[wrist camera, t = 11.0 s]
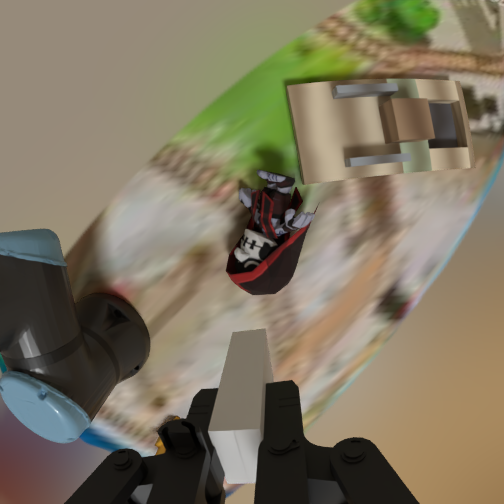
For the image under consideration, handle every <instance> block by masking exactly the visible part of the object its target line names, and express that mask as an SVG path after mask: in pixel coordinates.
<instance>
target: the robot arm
mask: <svg viewBox="0 0 504 504" xmlns="http://www.w3.org/2000/svg"><path fill="white" fill-rule="evenodd" d="M66 267H67V264H66V262H65V261H64V258H63V254H62V250H61V246H60V241H59V238H58V237H57V235H56V234H55V233H54V232H53V231H51V230H49V229H33V230H22V231H12V232H4V233H0V352H1V355H2V357H3V360H4V362H5V365H6V367H7V371H6V372H4V373H3V374H2V378H1V379H0V393H1V395H2V398H3V400H4V402H5V403H6V405H7V406H8V408H9V409H10V411H11V412H12V413H13V414H14V415H15V416H16V417H17V418H18V419H19V420H20V421H21V422H22V423H23V424H24V425H25V426H26V427H28V428H29V429H30V430H32V431H33V432H35V433H36V434H38V435H40V436H42V437H43V438H46V439H48V440H51V441H54V442H59V443H69V442H72V441H74V440H76V439H77V438H78V437H79V436H80V435H81V434H82V432H83V431H84V430H85V429H86V428H88V427H89V426H90V424H91V422H92V420H93V419H94V417H95V416H96V414H97V413H98V411H99V410H100V408H101V407H102V405H103V404H104V402H105V401H106V399H107V398H108V396H109V395H110V393H111V392H112V390H113V389H114V387H115V386H116V384H118V383H120V382H122V381H124V380H126V379H128V378H130V377H132V376H134V375H135V374H136V373H138V372H139V371H140V369H141V368H142V367H143V365H144V364H145V362H146V360H147V359H148V356H149V352H150V338H149V334H148V331H147V328H146V326H145V324H144V322H143V320H142V319H141V317H140V316H139V315H138V313H137V312H136V311H135V310H134V309H133V308H132V307H131V306H130V305H129V304H127V303H126V302H124V301H123V300H121V299H120V298H118V297H115V296H113V295H110V294H105V293H95V294H90V295H88V296H86V297H84V298H83V299H81V300H80V301H78V302H77V303H76V304H75V303H74V299H73V295H72V291H71V287H70V283H69V278H68V274H67V269H66ZM158 434H159V437H160V439H161V441H162V443H163V445H164V447H165V449H166V451H165V453H163V454H159V455H154V456H148V457H141V455H140V454H139V452H137V451H135V450H133V449H127V448H126V449H119V450H117V451H114V452H112V453H111V454H110V455H109V456H107V458H106V459H105V460H104V461H103V462H102V463H101V464H100V465H99V466H98V467H97V468H96V470H95V471H94V472H93V473H92V474H91V475H90V476H89V477H88V478H87V480H86V481H85V482H84V483H83V484H82V485H81V486H80V487H79V488H78V489H77V490H76V491H75V493H74V494H73V495H72V496H71V497H70V498H69V499H68V500H67V501H66V502H65V503H64V504H225V497H226V495H225V490H224V487H223V481H224V476H225V478H226V481H227V483H228V484H240V483H256V485H255V498H254V504H419V502H418V501H417V500H416V499H415V497H414V496H413V494H411V492H410V491H409V489H408V488H407V487H406V485H405V484H404V483H403V482H402V480H401V479H400V477H399V476H398V475H397V473H396V472H395V471H394V469H393V468H392V467H391V466H390V464H389V463H388V462H387V460H386V459H385V457H384V456H383V455H382V454H381V452H380V451H379V449H378V448H377V447H376V445H375V444H373V443H372V442H371V441H370V440H367V439H364V438H357V437H353V438H348V439H344V440H342V441H340V442H339V443H337V444H336V445H335V446H334V447H333V448H332V447H322V446H317V445H315V444H312V443H310V442H309V441H308V440H307V439H306V438H305V436H304V433H303V423H302V413H301V404H300V396H299V388H298V386H297V385H296V384H295V383H294V382H293V381H292V380H289V381H281V382H273V371H272V365H271V359H270V353H269V347H268V341H267V335H266V330H265V329H257V330H249V331H240V332H233V333H232V337H231V341H230V345H229V349H228V353H227V357H226V361H225V365H224V369H223V373H222V377H221V381H220V385H219V388H214V389H201V390H200V391H199V392H198V393H197V394H196V395H195V396H194V398H193V401H192V404H191V408H190V409H189V412H188V415H187V418H186V419H175V420H172V421H169V422H167V423H166V424H164V425H163V426H161V427H160V429H159V430H158Z"/></svg>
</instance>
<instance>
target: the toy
mask: <svg viewBox="0 0 504 504" xmlns="http://www.w3.org/2000/svg"><path fill="white" fill-rule="evenodd" d="M257 174H258V175H259V176H260V177H261V178H263V179H266V181H267V183H268V186H267V187H264V188H263V190H262V191H261V193H260V190H257V191H256V190H252V193H251V189H249V188H246V189H245V188H241V189H240V191H239V199H240V201H241V202H242V203H243V204H244V205H245V206H246V207H248V209H249V210H250V212H251V214H252V216H251V218H250V221H249V223H248V225H247V228H246V229H245V233H244V235H243V236H242V237H241V239H240V240H239V242H238V243H237V244H236V246H235V247H234V249H233V250H232V251H231V253H230V254H229V258H228V263H227V268H226V272H227V273H228V275H229V277H230V278H231V280H232V281H233V282H234V283H235V284H236V285H238V286H239V287H240V288H241V289H243V290H245V291H246V292H248V293H250V294H252V295H264V294H276V293H277V292H278V291H280V290H281V289H282V288H283V287H285V286H286V285H287V284H288V283H289V281H290V280H291V278H292V277H293V274H294V272H295V269H296V266H297V263H298V259H299V256H300V252H301V249H302V245H303V242H304V239H305V235H306V233H307V230H308V228H309V226H310V223H311V221H312V219H313V218H314V216H315V212H316V210H315V212H314V213H310V212H307V213H306V214H305V213H304V212H301V213H300V214H299V215H298V216H297V217H294V215H295V213H296V211H297V210H298V208H299V207H300V205H301V204H302V202H303V200H302V198H301V196H300V193H299V191H298V189H297V187H295V190H294V193H293V196H292V199H291V194H290V193H289V192H290V190H291V188H292V186H293V184H294V182H295V179H294V178H291V177H287V176H284V175H281V174H277V173H272V172H267V171H262V170H257ZM259 193H260V203H259ZM290 200H291V202H290ZM259 205H260V208H259ZM318 205H319V204H318ZM317 207H318V206H317ZM316 209H317V208H316ZM299 228H301V229H300V230H299V231H298V232H296V233H295V234H294V235H293V236H292V237H290V231H293V230H296V229H299Z"/></svg>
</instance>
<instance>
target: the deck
mask: <svg viewBox="0 0 504 504" xmlns="http://www.w3.org/2000/svg"><path fill="white" fill-rule="evenodd" d="M286 93H287V99H288V104H289V109H290V114H291V120H292V125H293V131H294V136H295V142H296V148H297V154H298V160H299V166H300V172H301V178H302V184H303V185H307V184H314V183H321V182H329V181H337V180H345V179H354V178H362V177H371V176H380V175H390V174H400V173H411V172H422V171H434V170H447V169H462V168H476V167H475V159H474V152H473V145H472V138H471V132H470V127H469V121H468V116H467V111H466V106H465V102H464V97H463V93H462V89H461V85H460V81H448V80H430V79H360V80H341V81H327V82H316V83H306V84H296V85H288V86H287V90H286ZM396 98H427V100H428V104H429V109H430V114H431V119H432V124H433V129H434V135H435V138H434V139H429V140H424V141H420V142H406V143H391V144H385V140H384V134H383V129H382V123H381V118H380V113H379V108H378V107H379V106H381V105H382V104H384V103H385V102H387V101H388V100H390V99H396Z"/></svg>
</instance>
